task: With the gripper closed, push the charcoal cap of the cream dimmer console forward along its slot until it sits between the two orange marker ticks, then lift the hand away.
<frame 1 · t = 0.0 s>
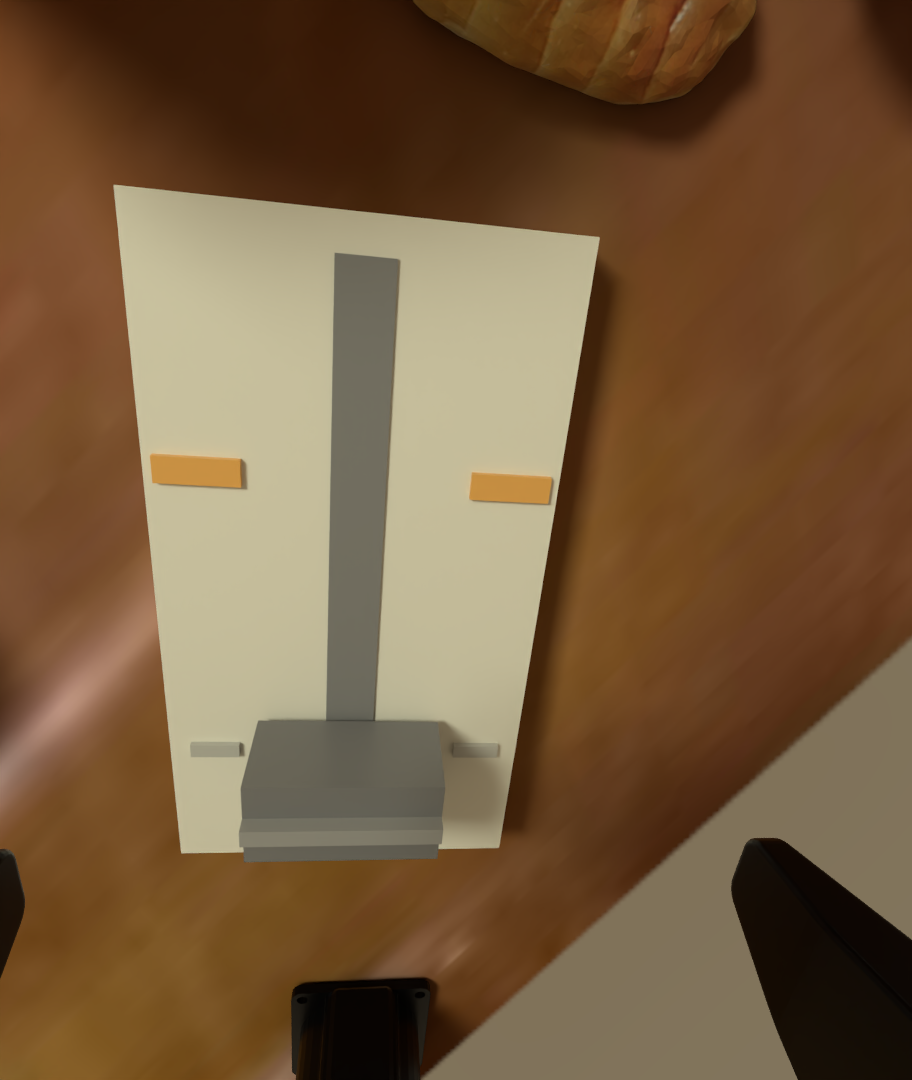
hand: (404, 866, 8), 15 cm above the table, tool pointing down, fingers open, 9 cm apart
dimmer console: (356, 570, 23), on the table
fader cap: (345, 794, 21), point 4 cm above the table, slide at 0.0 cm
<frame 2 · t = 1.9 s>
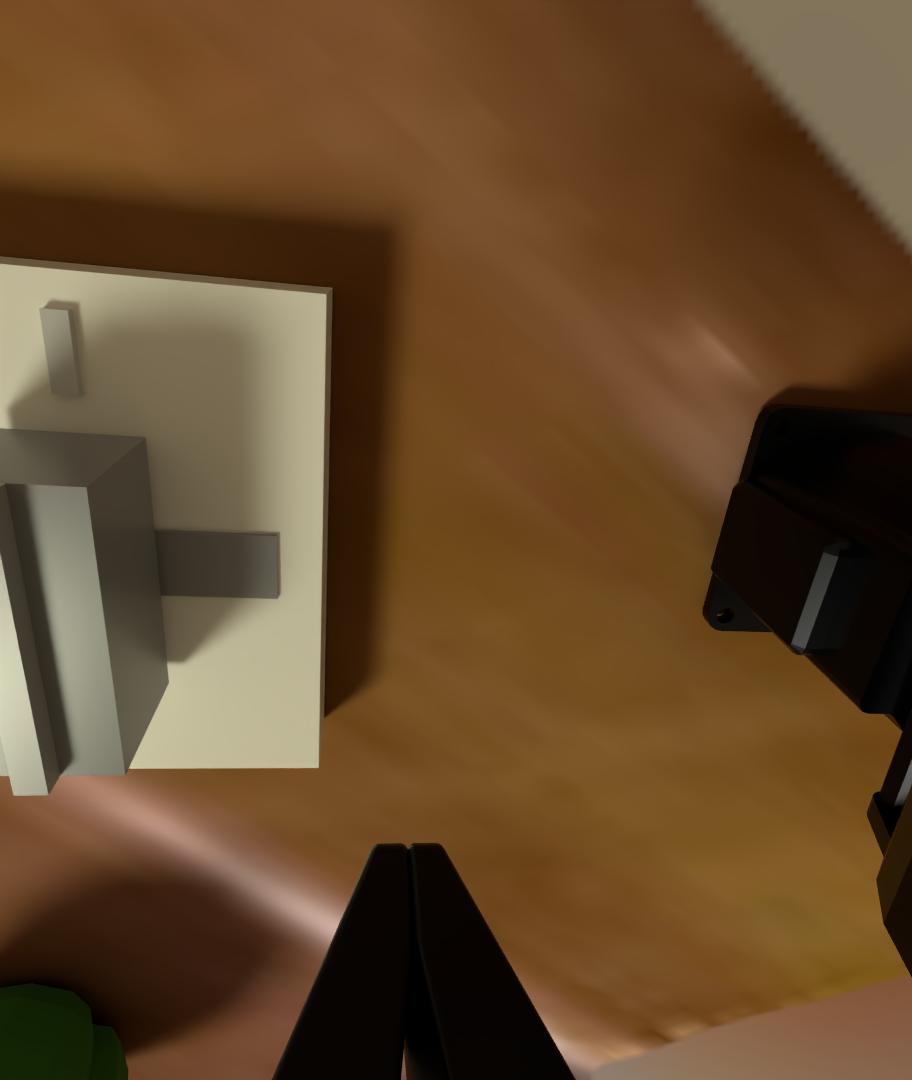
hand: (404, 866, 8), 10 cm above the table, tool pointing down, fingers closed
bell pepper: (38, 1022, 24), on the table
fader cap: (49, 608, 13), point 4 cm above the table, slide at 0.0 cm
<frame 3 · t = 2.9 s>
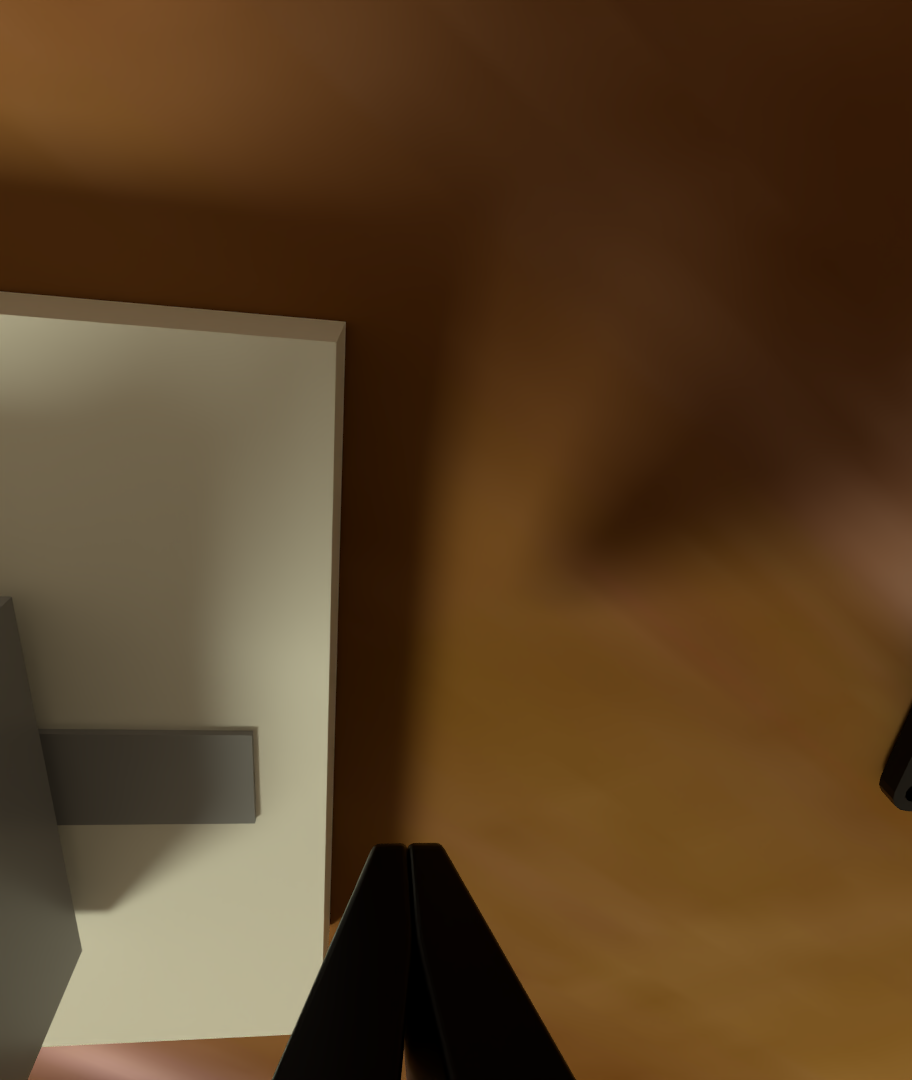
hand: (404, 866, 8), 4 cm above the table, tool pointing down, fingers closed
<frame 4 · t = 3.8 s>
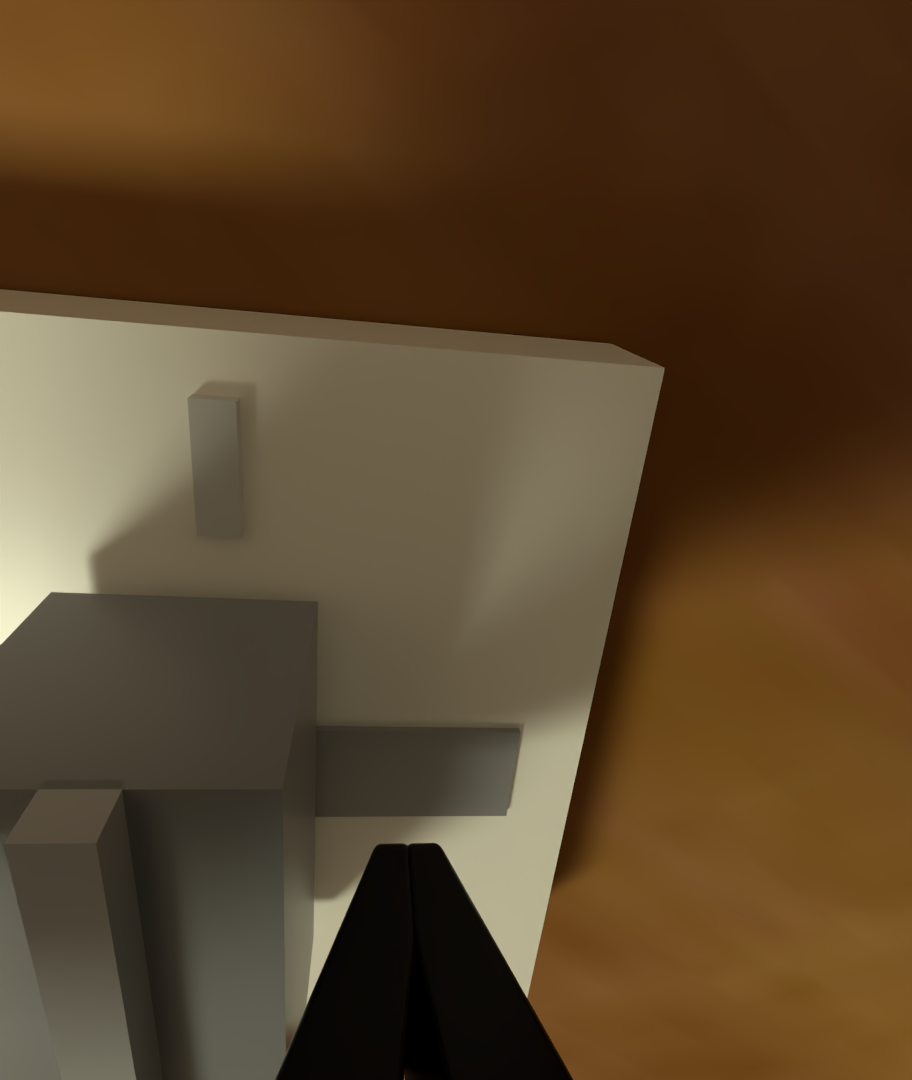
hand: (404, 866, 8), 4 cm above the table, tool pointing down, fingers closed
fader cap: (163, 909, 7), point 4 cm above the table, slide at 0.4 cm, touching gripper
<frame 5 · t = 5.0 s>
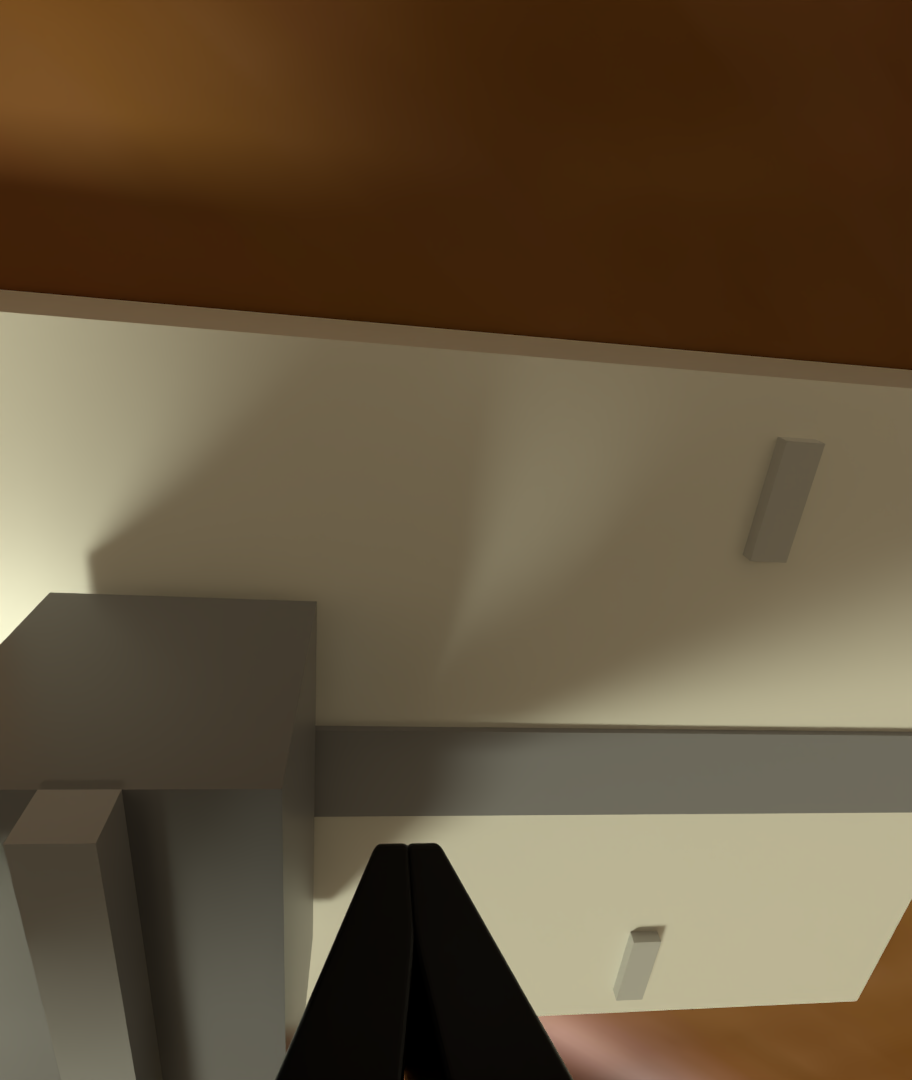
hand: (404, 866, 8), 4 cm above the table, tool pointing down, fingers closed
dimmer console: (311, 685, 11), on the table
fader cap: (162, 909, 7), point 4 cm above the table, slide at 7.2 cm, touching gripper
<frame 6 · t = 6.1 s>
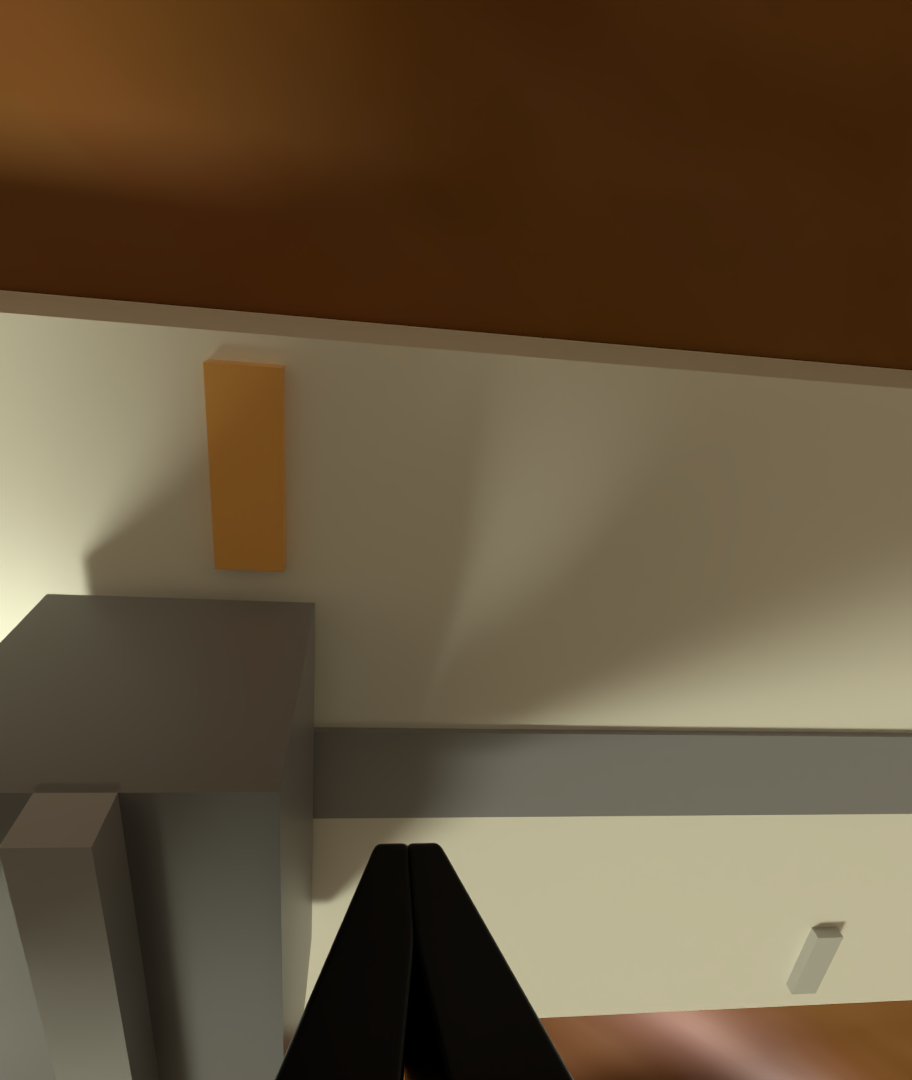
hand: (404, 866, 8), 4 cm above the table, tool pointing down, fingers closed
dimmer console: (511, 689, 12), on the table
fader cap: (160, 912, 7), point 4 cm above the table, slide at 10.7 cm, touching gripper
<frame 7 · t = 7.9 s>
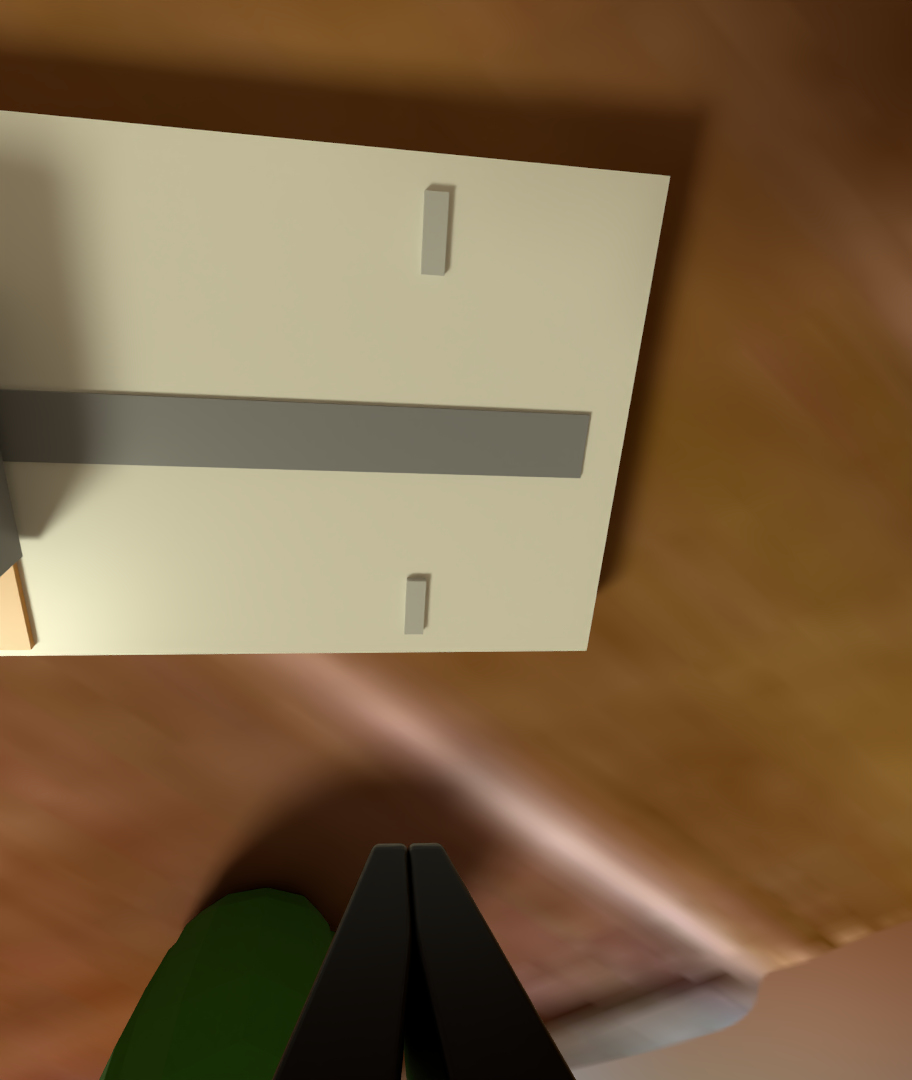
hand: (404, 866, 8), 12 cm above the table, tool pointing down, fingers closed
dimmer console: (182, 410, 17), on the table
bell pepper: (261, 931, 25), on the table
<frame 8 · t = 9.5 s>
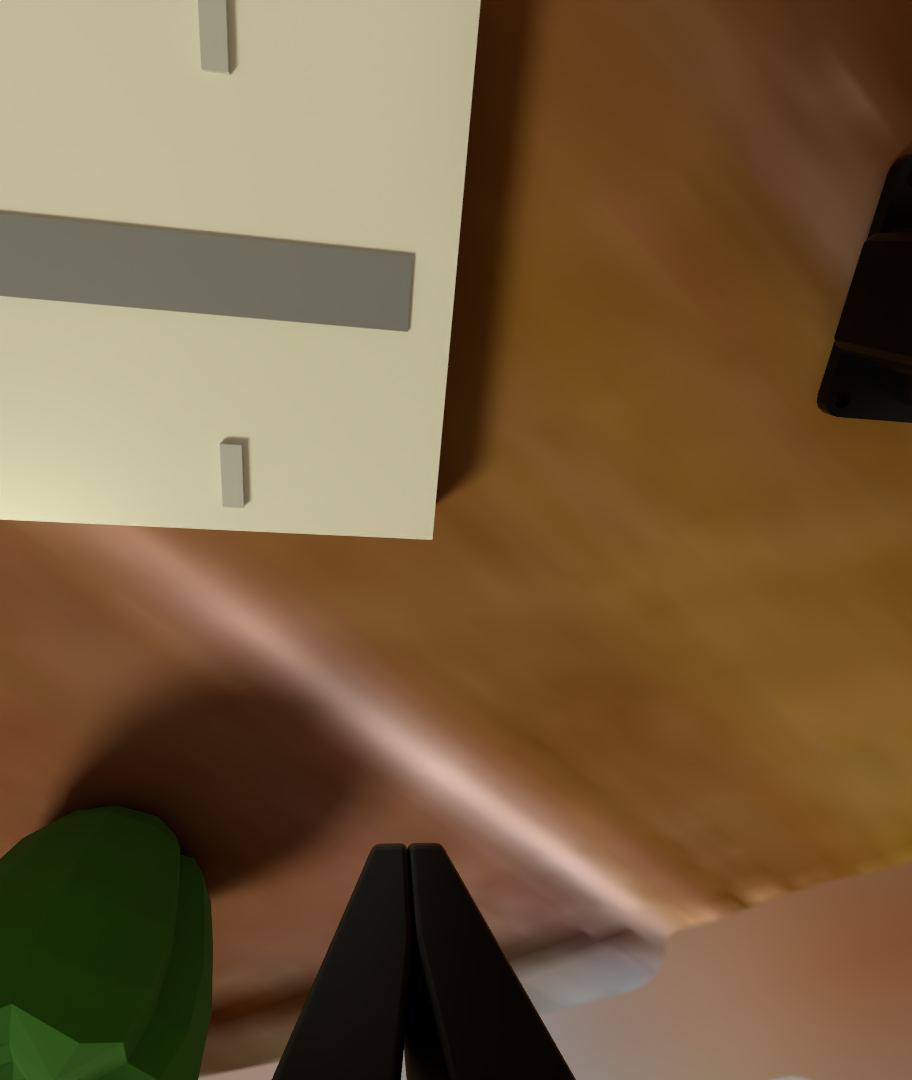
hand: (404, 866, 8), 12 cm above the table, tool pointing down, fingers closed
bell pepper: (119, 856, 24), on the table
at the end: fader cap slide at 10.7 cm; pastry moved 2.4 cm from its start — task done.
